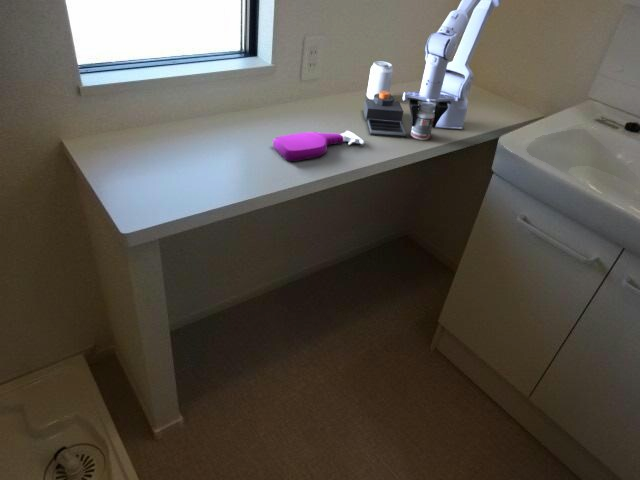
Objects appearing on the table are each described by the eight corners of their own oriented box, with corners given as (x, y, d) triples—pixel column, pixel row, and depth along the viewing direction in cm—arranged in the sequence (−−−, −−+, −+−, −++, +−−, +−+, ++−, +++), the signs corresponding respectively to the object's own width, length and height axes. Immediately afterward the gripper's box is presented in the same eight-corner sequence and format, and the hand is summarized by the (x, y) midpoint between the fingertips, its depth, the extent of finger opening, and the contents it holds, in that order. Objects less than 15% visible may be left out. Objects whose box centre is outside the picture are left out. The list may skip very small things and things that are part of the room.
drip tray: (400, 125, 150) (401, 121, 149) (405, 137, 143) (406, 133, 142) (367, 122, 149) (367, 118, 148) (370, 135, 142) (371, 130, 141)
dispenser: (396, 112, 158) (399, 94, 154) (400, 124, 150) (404, 105, 147) (362, 110, 157) (365, 91, 153) (365, 121, 149) (368, 102, 146)
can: (380, 104, 162) (386, 68, 154) (362, 98, 165) (367, 62, 158) (391, 99, 167) (398, 64, 159) (373, 93, 170) (379, 58, 163)
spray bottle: (270, 146, 130) (345, 133, 142) (289, 164, 123) (366, 149, 135) (270, 135, 128) (346, 124, 140) (290, 153, 121) (368, 139, 133)
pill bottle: (430, 141, 142) (439, 109, 136) (411, 139, 142) (419, 107, 136) (427, 133, 147) (435, 101, 141) (409, 131, 146) (416, 99, 141)
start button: (388, 96, 153) (389, 91, 152) (389, 100, 150) (390, 94, 149) (378, 95, 152) (379, 90, 151) (379, 99, 150) (380, 94, 149)
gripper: (410, 82, 130) (400, 129, 138) (462, 86, 131) (449, 133, 140) (405, 73, 136) (396, 119, 144) (455, 78, 137) (444, 123, 145)
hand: (422, 125), depth 142 cm, fingers closed on pill bottle, 5 cm apart
